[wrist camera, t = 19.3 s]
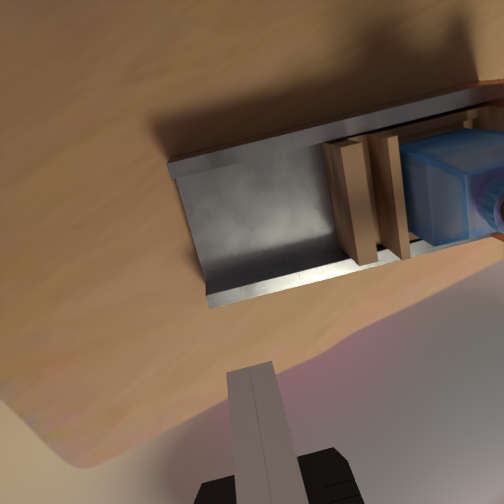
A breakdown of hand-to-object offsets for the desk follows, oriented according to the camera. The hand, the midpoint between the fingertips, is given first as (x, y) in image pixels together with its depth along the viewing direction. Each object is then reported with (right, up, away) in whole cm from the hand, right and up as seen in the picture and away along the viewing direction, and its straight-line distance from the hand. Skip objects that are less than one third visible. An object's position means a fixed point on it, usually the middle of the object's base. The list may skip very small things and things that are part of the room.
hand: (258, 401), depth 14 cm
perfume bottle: (+14, +11, +20) cm, 27 cm away
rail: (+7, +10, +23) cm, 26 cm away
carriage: (+12, +11, +22) cm, 27 cm away
